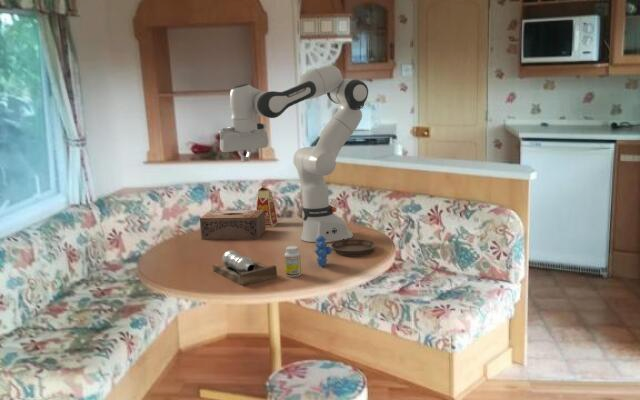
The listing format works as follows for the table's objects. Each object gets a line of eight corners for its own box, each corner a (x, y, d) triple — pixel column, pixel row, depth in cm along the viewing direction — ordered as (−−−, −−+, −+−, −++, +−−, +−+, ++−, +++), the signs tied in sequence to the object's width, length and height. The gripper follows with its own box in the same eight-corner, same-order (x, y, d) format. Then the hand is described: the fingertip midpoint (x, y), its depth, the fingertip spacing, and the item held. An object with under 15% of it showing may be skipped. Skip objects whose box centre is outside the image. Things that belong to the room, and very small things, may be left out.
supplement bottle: (292, 271, 227) (291, 244, 225) (304, 274, 224) (303, 246, 222) (282, 275, 223) (280, 248, 221) (293, 278, 220) (292, 250, 218)
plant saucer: (351, 243, 261) (351, 236, 261) (384, 250, 249) (384, 242, 249) (322, 253, 249) (321, 246, 248) (356, 261, 237) (355, 253, 236)
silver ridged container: (239, 256, 239) (263, 268, 222) (227, 269, 237) (250, 282, 220) (229, 245, 236) (253, 256, 219) (216, 258, 234) (239, 270, 217)
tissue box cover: (265, 231, 288) (264, 209, 286) (258, 239, 274) (256, 217, 272) (211, 231, 292) (209, 210, 290) (201, 240, 278) (199, 218, 276)
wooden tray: (213, 270, 232) (212, 260, 232) (245, 262, 240) (245, 252, 239) (242, 285, 214) (241, 274, 214) (276, 276, 222) (276, 266, 221)
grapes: (336, 270, 227) (334, 238, 224) (317, 271, 226) (315, 239, 223) (331, 260, 238) (329, 230, 235) (313, 262, 237) (312, 231, 235)
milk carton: (273, 227, 294) (270, 185, 289) (254, 227, 295) (251, 185, 291) (278, 222, 302) (275, 181, 298) (259, 222, 304) (257, 181, 300)
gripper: (222, 129, 237) (225, 165, 240) (269, 124, 248) (271, 158, 251) (215, 128, 242) (218, 163, 245) (261, 123, 253) (263, 157, 256)
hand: (245, 161), depth 248 cm, fingers closed
